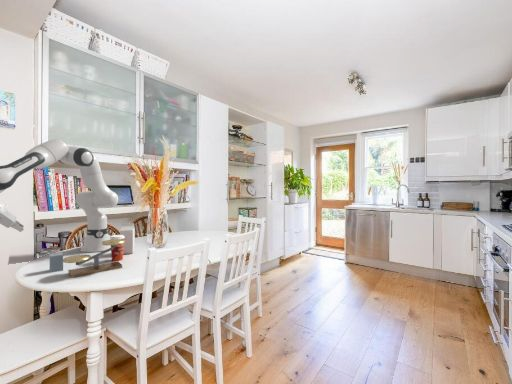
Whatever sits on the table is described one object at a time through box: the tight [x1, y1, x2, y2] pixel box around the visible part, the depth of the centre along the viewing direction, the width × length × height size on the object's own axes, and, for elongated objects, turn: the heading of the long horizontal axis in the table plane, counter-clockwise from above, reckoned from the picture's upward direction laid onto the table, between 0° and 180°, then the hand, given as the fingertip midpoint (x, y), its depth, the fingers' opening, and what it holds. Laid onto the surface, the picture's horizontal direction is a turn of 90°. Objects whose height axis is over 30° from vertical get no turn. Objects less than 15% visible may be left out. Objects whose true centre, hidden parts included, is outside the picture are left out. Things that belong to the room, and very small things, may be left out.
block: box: [49, 252, 64, 273], centre depth 126 cm, size 5×5×8 cm
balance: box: [63, 239, 126, 279], centre depth 127 cm, size 11×27×14 cm, turn 133°
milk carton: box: [119, 222, 136, 255], centre depth 160 cm, size 7×7×19 cm
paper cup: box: [110, 234, 125, 262], centre depth 145 cm, size 8×8×14 cm
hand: (22, 229), depth 117 cm, fingers open, 8 cm apart
